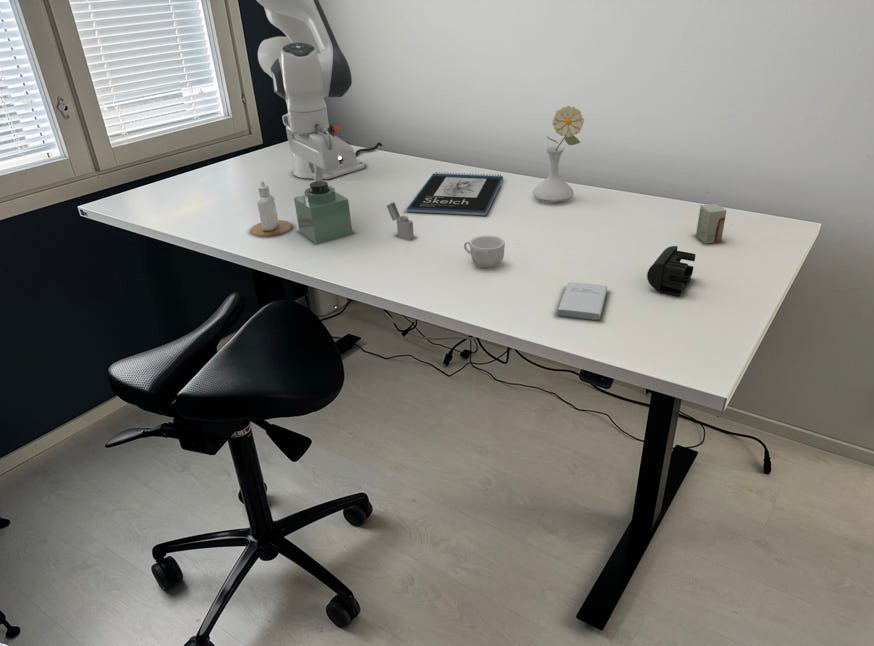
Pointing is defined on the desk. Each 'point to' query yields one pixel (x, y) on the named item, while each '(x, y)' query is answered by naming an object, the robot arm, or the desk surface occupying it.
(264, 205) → the eye dropper bottle
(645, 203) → the desk surface
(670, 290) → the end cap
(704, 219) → the small box
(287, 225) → the coaster
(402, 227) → the lighter
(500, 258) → the teacup
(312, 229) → the dispenser
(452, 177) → the sketchbook
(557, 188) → the flower in vase
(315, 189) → the grey short cylinder
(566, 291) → the hard drive
